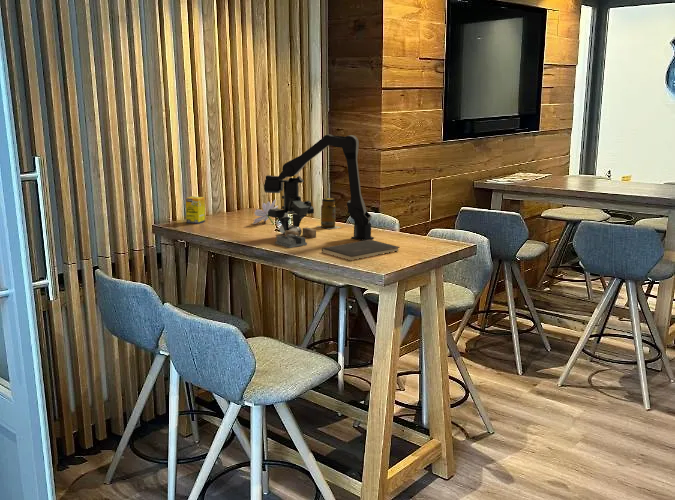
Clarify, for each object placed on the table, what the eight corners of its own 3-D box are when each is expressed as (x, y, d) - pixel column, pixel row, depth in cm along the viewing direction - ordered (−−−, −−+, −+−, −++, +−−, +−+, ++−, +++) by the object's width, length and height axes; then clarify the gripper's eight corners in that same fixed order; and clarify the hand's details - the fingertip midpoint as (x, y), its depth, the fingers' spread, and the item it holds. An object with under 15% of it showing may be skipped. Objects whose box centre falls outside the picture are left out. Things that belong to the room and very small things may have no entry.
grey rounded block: (315, 237, 266) (316, 229, 265) (294, 240, 259) (294, 233, 258) (306, 234, 270) (306, 227, 269) (285, 238, 263) (285, 230, 263)
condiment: (329, 224, 292) (329, 197, 289) (342, 227, 286) (342, 199, 283) (316, 226, 288) (316, 198, 285) (328, 229, 281) (328, 201, 278)
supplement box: (186, 223, 291) (185, 198, 289) (193, 220, 297) (192, 196, 294) (198, 224, 290) (197, 198, 287) (205, 221, 295) (204, 196, 293)
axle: (301, 236, 267) (301, 226, 266) (293, 237, 265) (293, 227, 264) (287, 232, 274) (287, 222, 273) (279, 234, 271) (279, 224, 270)
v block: (306, 244, 252) (306, 237, 252) (289, 247, 247) (289, 240, 246) (292, 240, 259) (292, 233, 258) (275, 243, 254) (275, 236, 253)
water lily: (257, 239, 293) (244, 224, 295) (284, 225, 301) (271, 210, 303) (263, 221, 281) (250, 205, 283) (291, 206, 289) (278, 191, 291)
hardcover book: (399, 253, 244) (399, 246, 243) (351, 262, 229) (351, 256, 229) (369, 245, 255) (369, 239, 255) (321, 253, 241) (321, 247, 240)
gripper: (284, 198, 253) (284, 239, 257) (322, 194, 265) (322, 233, 269) (266, 194, 261) (267, 234, 265) (305, 190, 273) (305, 228, 277)
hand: (291, 232), depth 269 cm, fingers closed on axle, 4 cm apart
